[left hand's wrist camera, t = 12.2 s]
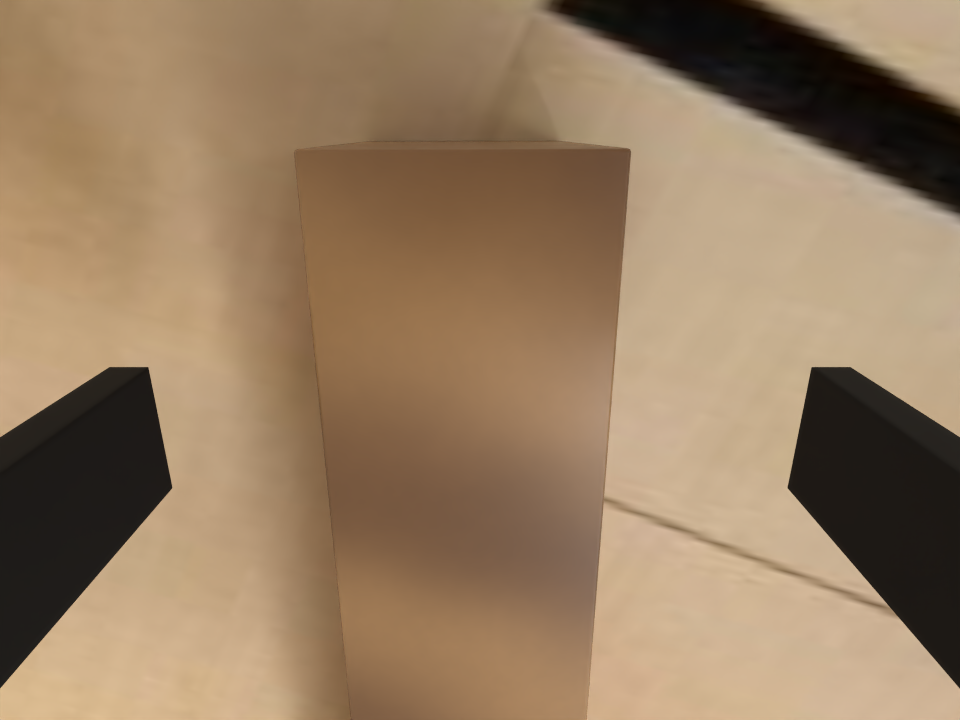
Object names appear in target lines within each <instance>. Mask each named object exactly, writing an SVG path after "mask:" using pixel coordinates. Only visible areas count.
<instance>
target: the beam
mask: <svg viewBox="0 0 960 720" xmlns="http://www.w3.org/2000/svg"><path fill="white" fill-rule="evenodd" d="M294 156H295V166H296V176H297V186H298V196H299V206H300V216H301V226H302V236H303V246H304V256H305V266H306V276H307V286H308V296H309V306H310V316H311V326H312V335H313V345H314V355H315V365H316V375H317V385H318V395H319V405H320V415H321V425H322V435H323V445H324V455H325V465H326V475H327V485H328V495H329V505H330V515H331V525H332V535H333V545H334V555H335V565H336V575H337V585H338V595H339V604H340V614H341V624H342V634H343V644H344V654H345V664H346V674H347V684H348V694H349V704H350V714H351V720H586V719H587V706H588V693H589V680H590V668H591V655H592V642H593V629H594V617H595V604H596V591H597V578H598V566H599V553H600V540H601V527H602V515H603V502H604V489H605V476H606V464H607V451H608V438H609V425H610V412H611V400H612V387H613V374H614V361H615V349H616V336H617V323H618V310H619V298H620V285H621V272H622V259H623V247H624V234H625V221H626V208H627V196H628V183H629V170H630V157H631V151H630V149H627V148H618V147H609V146H600V145H591V144H582V143H572V142H563V141H427V142H360V143H351V144H342V145H332V146H323V147H314V148H305V149H297V150H295V152H294Z"/></svg>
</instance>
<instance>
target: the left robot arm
mask: <svg viewBox="0 0 960 720" xmlns="http://www.w3.org/2000/svg"><path fill="white" fill-rule="evenodd" d="M171 489H172V484H171V479H170V474H169V469H168V464H167V459H166V454H165V449H164V444H163V439H162V434H161V429H160V424H159V419H158V414H157V409H156V403H155V398H154V393H153V388H152V383H151V378H150V373H149V368H148V367H109V368H108V369H106V370H105V371H103V372H101V373H100V374H98V375H97V376H95V377H94V378H92V379H90V380H89V381H87V382H86V383H84V384H83V385H81V386H80V387H78V388H76V389H75V390H73V391H72V392H70V393H69V394H67V395H66V396H64V397H62V398H61V399H59V400H58V401H56V402H55V403H53V404H51V405H50V406H48V407H47V408H45V409H44V410H42V411H41V412H39V413H37V414H36V415H34V416H33V417H31V418H30V419H28V420H26V421H25V422H23V423H22V424H20V425H19V426H17V427H16V428H14V429H12V430H11V431H9V432H8V433H6V434H5V435H3V436H2V437H0V688H1V687H2V686H3V684H4V683H5V682H6V681H7V680H8V679H9V677H10V676H11V675H12V674H13V673H14V672H15V670H16V669H17V668H18V667H19V666H20V665H21V663H22V662H23V661H24V660H25V659H26V658H27V656H28V655H29V654H30V653H31V652H32V651H33V650H34V648H35V647H36V646H37V645H38V644H39V643H40V641H41V640H42V639H43V638H44V637H45V636H46V634H47V633H48V632H49V631H50V630H51V629H52V627H53V626H54V625H55V624H56V623H57V622H58V620H59V619H60V618H61V617H62V616H63V615H64V613H65V612H66V611H67V610H68V609H69V608H70V606H71V605H72V604H73V603H74V602H75V601H76V599H77V598H78V597H79V596H80V595H81V594H82V592H83V591H84V590H85V589H86V588H87V587H88V586H89V584H90V583H91V582H92V581H93V580H94V579H95V577H96V576H97V575H98V574H99V573H100V572H101V570H102V569H103V568H104V567H105V566H106V565H107V563H108V562H109V561H110V560H111V559H112V558H113V556H114V555H115V554H116V553H117V552H118V551H119V549H120V548H121V547H122V546H123V545H124V544H125V542H126V541H127V540H128V539H129V538H130V537H131V535H132V534H133V533H134V532H135V531H136V530H137V528H138V527H139V526H140V525H141V524H142V523H143V522H144V520H145V519H146V518H147V517H148V516H149V515H150V513H151V512H152V511H153V510H154V509H155V508H156V506H157V505H158V504H159V503H160V502H161V501H162V499H163V498H164V497H165V496H166V495H167V494H168V492H169V491H170V490H171ZM788 489H789V490H790V491H791V492H792V494H793V495H794V496H795V497H796V498H797V499H798V501H799V502H800V503H801V504H802V505H803V506H804V508H805V509H806V510H807V511H808V512H809V513H810V515H811V516H812V517H813V518H814V519H815V520H816V522H817V523H818V524H819V525H820V526H821V527H822V528H823V530H824V531H825V532H826V533H827V534H828V535H829V537H830V538H831V539H832V540H833V541H834V542H835V544H836V545H837V546H838V547H839V548H840V549H841V551H842V552H843V553H844V554H845V555H846V556H847V558H848V559H849V560H850V561H851V562H852V563H853V565H854V566H855V567H856V568H857V569H858V570H859V572H860V573H861V574H862V575H863V576H864V577H865V579H866V580H867V581H868V582H869V583H870V584H871V586H872V587H873V588H874V589H875V590H876V591H877V592H878V594H879V595H880V596H881V597H882V598H883V599H884V601H885V602H886V603H887V604H888V605H889V606H890V608H891V609H892V610H893V611H894V612H895V613H896V615H897V616H898V617H899V618H900V619H901V620H902V622H903V623H904V624H905V625H906V626H907V627H908V629H909V630H910V631H911V632H912V633H913V634H914V636H915V637H916V638H917V639H918V640H919V641H920V643H921V644H922V645H923V646H924V647H925V648H926V650H927V651H928V652H929V653H930V654H931V655H932V656H933V658H934V659H935V660H936V661H937V662H938V663H939V665H940V666H941V667H942V668H943V669H944V670H945V672H946V673H947V674H948V675H949V676H950V677H951V679H952V680H953V681H954V682H955V683H956V684H957V686H958V687H959V688H960V437H958V436H957V435H955V434H954V433H952V432H951V431H949V430H948V429H946V428H944V427H943V426H941V425H940V424H938V423H937V422H935V421H934V420H932V419H930V418H929V417H927V416H926V415H924V414H923V413H921V412H919V411H918V410H916V409H915V408H913V407H912V406H910V405H909V404H907V403H905V402H904V401H902V400H901V399H899V398H898V397H896V396H894V395H893V394H891V393H890V392H888V391H887V390H885V389H884V388H882V387H880V386H879V385H877V384H876V383H874V382H873V381H871V380H870V379H868V378H866V377H865V376H863V375H862V374H860V373H859V372H857V371H855V370H854V369H852V368H851V367H812V368H811V373H810V378H809V383H808V388H807V393H806V398H805V403H804V409H803V414H802V419H801V424H800V429H799V434H798V439H797V444H796V449H795V454H794V459H793V464H792V469H791V474H790V479H789V484H788Z"/></svg>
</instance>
